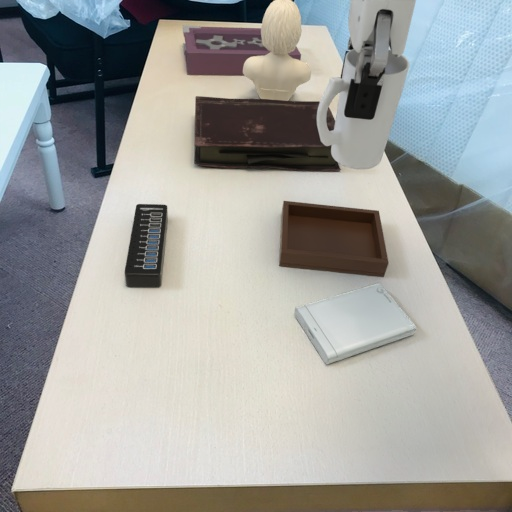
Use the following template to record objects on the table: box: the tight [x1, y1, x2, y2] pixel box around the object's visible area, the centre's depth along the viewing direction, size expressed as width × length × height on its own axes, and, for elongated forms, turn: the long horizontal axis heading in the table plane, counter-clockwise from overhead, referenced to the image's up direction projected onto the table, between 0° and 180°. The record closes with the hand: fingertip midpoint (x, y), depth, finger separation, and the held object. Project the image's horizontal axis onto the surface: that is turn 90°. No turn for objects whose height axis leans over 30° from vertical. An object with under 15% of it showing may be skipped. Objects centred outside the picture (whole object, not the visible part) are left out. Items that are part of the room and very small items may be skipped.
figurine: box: [243, 0, 312, 101], centre depth 99 cm, size 14×9×20 cm
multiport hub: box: [123, 203, 169, 288], centre depth 69 cm, size 4×14×2 cm, turn 4°
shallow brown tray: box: [278, 200, 389, 278], centre depth 73 cm, size 12×14×3 cm
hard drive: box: [293, 282, 417, 365], centre depth 62 cm, size 2×8×12 cm
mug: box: [317, 47, 410, 171], centre depth 58 cm, size 10×7×12 cm, turn 117°
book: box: [182, 25, 302, 76], centre depth 118 cm, size 25×16×5 cm, turn 99°
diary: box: [194, 95, 341, 172], centre depth 91 cm, size 19×25×5 cm
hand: (355, 100), depth 57 cm, fingers closed on mug, 6 cm apart
